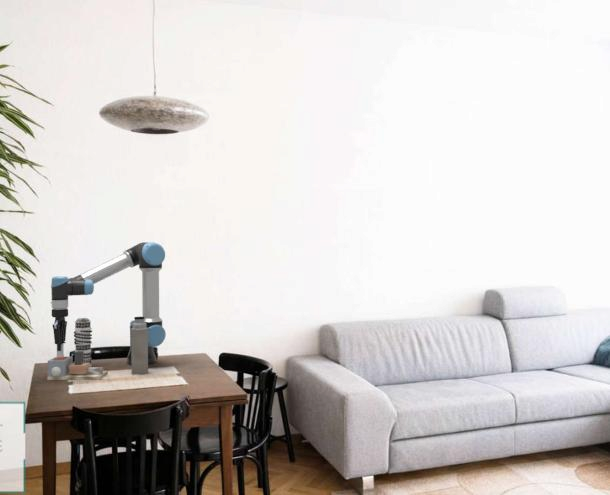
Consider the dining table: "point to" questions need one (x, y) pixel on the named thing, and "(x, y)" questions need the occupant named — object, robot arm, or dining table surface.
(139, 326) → the thermos bottle
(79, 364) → the carriage
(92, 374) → the rail base
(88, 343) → the decorative candle
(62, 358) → the button
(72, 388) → the dining table surface
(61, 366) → the end cabinet
